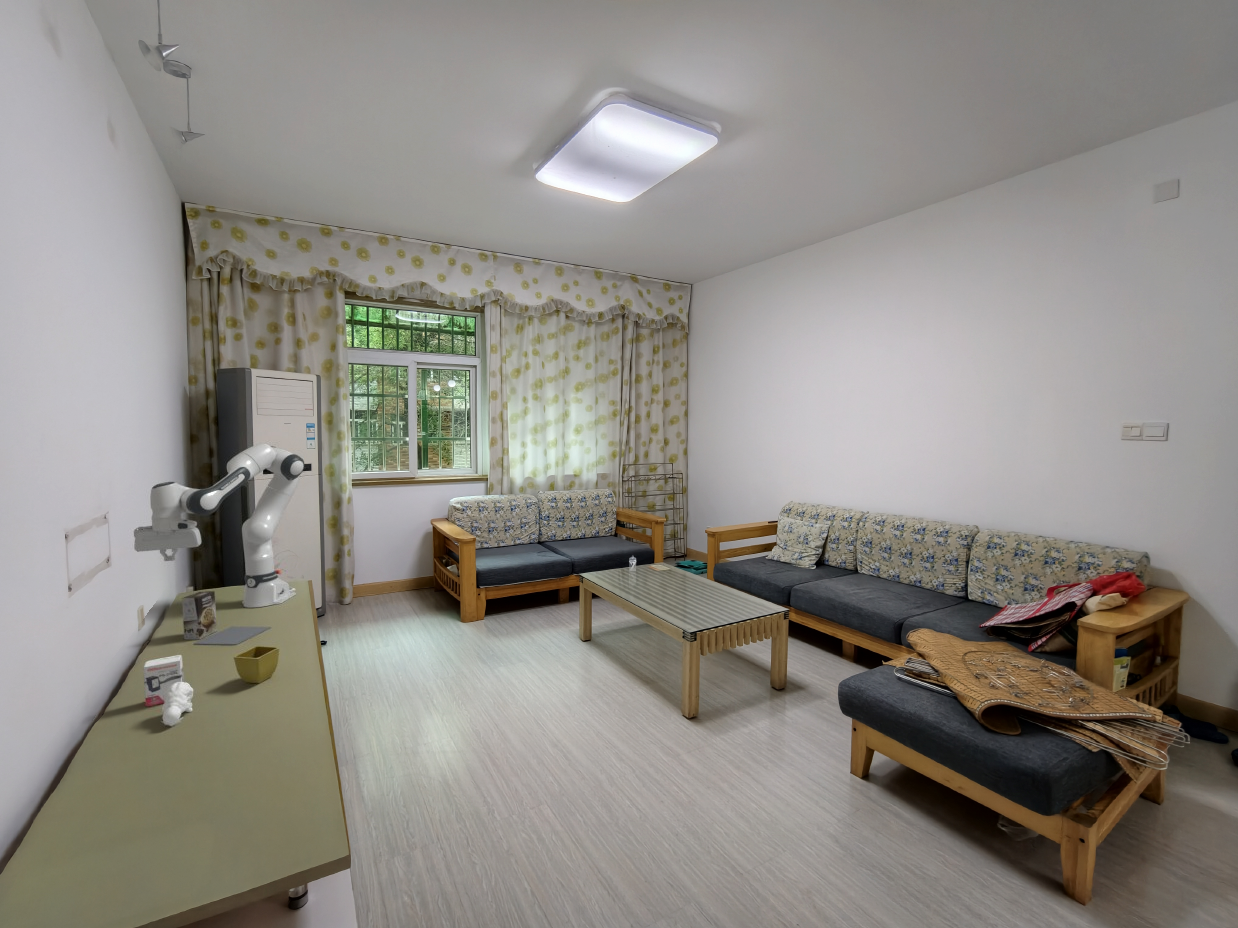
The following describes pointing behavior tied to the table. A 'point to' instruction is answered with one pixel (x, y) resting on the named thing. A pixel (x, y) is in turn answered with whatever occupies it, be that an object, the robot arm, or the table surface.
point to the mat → (232, 636)
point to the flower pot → (257, 663)
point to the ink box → (161, 677)
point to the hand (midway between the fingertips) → (169, 560)
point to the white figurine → (177, 702)
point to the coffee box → (199, 615)
